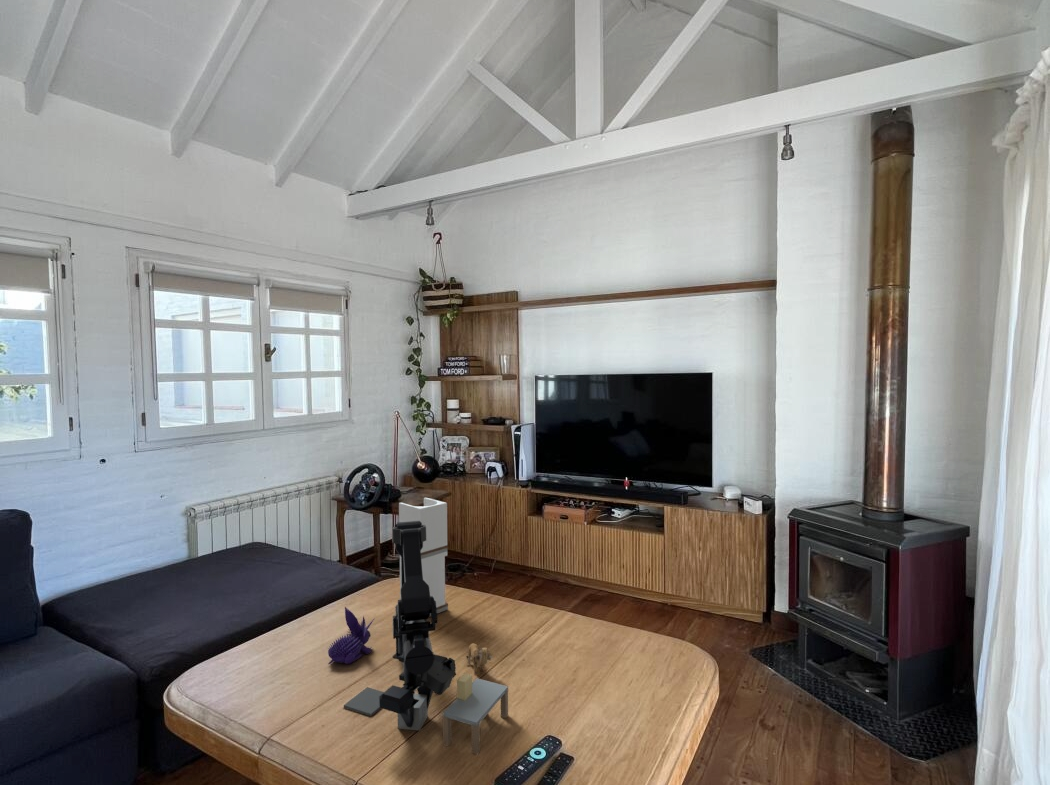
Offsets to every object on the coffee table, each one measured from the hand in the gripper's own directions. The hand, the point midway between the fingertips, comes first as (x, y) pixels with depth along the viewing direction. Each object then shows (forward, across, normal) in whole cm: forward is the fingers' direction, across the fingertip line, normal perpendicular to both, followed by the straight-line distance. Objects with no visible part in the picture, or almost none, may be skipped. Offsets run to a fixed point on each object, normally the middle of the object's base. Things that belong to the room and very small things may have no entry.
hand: (417, 719), depth 121 cm
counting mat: (+1, +2, +15) cm, 15 cm away
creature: (+2, +17, +34) cm, 38 cm away
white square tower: (+2, +50, +33) cm, 59 cm away
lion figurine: (+1, +25, -1) cm, 25 cm away
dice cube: (+1, 0, +1) cm, 2 cm away
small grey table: (+1, +3, -13) cm, 14 cm away
